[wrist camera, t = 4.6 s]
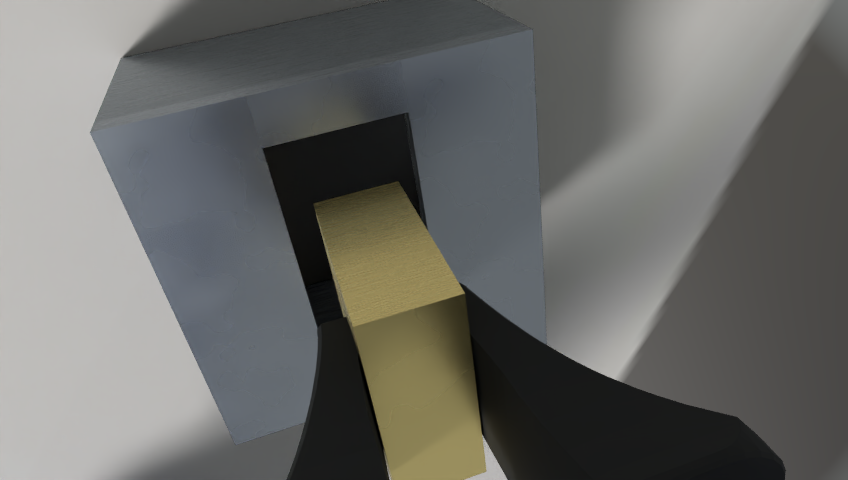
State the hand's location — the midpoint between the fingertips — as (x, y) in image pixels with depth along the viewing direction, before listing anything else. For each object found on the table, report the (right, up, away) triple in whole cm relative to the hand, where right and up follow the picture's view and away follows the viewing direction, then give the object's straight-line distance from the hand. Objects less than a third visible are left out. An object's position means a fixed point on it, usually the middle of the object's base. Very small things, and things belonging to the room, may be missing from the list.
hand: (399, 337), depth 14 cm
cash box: (-3, +5, +8) cm, 9 cm away
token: (-1, +1, +2) cm, 2 cm away
